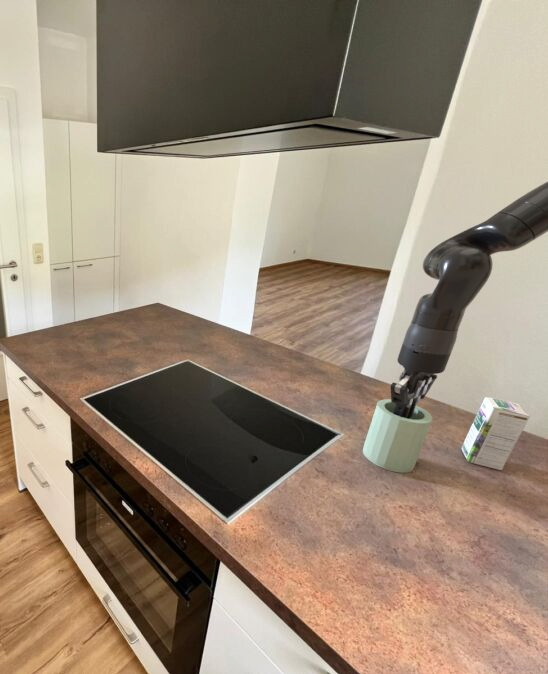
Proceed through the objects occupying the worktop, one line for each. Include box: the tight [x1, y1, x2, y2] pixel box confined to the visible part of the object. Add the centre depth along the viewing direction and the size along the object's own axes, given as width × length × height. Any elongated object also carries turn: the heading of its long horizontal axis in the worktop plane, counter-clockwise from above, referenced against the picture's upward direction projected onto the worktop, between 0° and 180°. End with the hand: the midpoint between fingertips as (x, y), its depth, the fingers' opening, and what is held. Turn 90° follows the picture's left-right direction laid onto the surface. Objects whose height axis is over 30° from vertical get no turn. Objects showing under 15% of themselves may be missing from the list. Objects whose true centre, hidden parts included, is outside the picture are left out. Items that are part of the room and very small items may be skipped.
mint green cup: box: [362, 398, 434, 474], centre depth 81 cm, size 9×9×13 cm
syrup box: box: [461, 397, 531, 471], centre depth 80 cm, size 6×6×14 cm
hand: (401, 417), depth 79 cm, fingers closed
